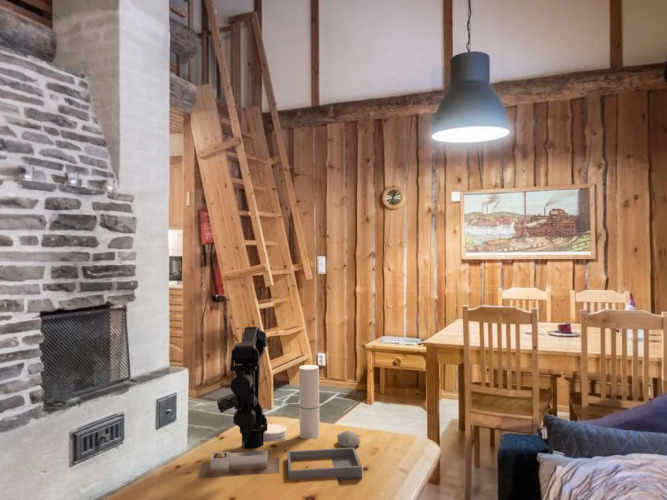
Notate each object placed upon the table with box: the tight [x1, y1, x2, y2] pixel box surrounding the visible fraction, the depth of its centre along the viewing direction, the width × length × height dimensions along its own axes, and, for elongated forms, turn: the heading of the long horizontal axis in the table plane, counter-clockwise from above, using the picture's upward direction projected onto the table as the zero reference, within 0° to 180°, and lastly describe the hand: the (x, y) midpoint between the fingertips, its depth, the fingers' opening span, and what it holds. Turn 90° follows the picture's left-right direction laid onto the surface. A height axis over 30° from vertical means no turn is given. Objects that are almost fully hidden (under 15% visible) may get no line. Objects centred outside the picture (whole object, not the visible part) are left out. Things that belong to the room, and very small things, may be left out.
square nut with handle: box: [209, 450, 269, 473], centre depth 158 cm, size 17×5×4 cm, turn 97°
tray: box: [286, 447, 363, 481], centre depth 158 cm, size 22×15×4 cm
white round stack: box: [263, 423, 288, 442], centre depth 186 cm, size 10×10×4 cm
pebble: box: [336, 430, 361, 448], centre depth 179 cm, size 9×8×5 cm
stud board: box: [197, 453, 280, 479], centre depth 158 cm, size 24×11×6 cm, turn 97°
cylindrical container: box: [298, 364, 321, 440], centre depth 187 cm, size 7×7×25 cm
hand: (246, 436), depth 159 cm, fingers open, 9 cm apart
